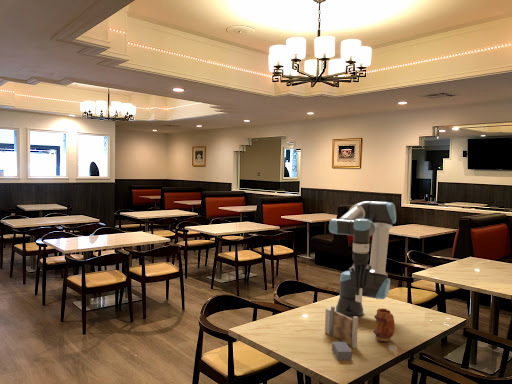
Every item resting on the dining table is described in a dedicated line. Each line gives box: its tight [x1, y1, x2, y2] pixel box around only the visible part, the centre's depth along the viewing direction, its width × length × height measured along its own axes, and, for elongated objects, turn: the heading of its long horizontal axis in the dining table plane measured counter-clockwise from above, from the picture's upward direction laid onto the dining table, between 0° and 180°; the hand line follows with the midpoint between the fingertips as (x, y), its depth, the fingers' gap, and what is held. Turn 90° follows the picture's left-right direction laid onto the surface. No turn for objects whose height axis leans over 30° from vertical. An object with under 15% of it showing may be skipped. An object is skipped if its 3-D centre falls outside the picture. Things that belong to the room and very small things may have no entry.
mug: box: [372, 308, 396, 342], centre depth 195 cm, size 15×8×15 cm, turn 5°
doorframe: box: [324, 306, 359, 349], centre depth 196 cm, size 20×2×14 cm, turn 31°
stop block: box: [331, 341, 353, 361], centre depth 181 cm, size 10×6×4 cm, turn 3°
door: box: [332, 310, 353, 346], centre depth 195 cm, size 12×3×12 cm, turn 31°
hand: (358, 301), depth 195 cm, fingers closed
